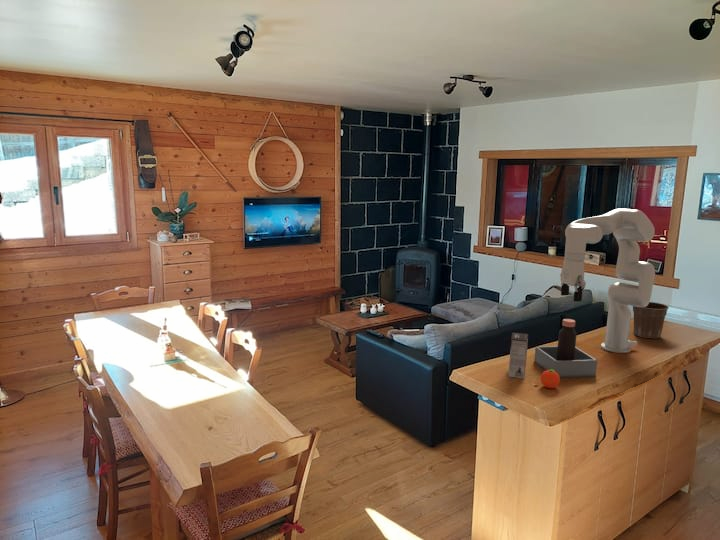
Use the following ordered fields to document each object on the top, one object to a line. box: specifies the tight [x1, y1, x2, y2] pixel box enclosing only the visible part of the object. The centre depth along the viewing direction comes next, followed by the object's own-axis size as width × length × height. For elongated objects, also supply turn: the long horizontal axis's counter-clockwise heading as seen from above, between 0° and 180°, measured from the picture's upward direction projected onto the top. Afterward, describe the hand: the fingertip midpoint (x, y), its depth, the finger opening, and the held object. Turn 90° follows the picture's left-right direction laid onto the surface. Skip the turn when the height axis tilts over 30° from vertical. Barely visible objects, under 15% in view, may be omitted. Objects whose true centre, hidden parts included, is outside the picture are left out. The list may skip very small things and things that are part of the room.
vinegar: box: [556, 318, 578, 361], centre depth 212 cm, size 7×7×20 cm
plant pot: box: [632, 301, 670, 340], centre depth 260 cm, size 16×16×16 cm
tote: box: [533, 345, 598, 379], centre depth 214 cm, size 18×18×7 cm
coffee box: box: [508, 332, 529, 379], centre depth 207 cm, size 9×6×16 cm
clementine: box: [540, 369, 561, 389], centre depth 195 cm, size 8×7×7 cm
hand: (570, 298), depth 209 cm, fingers open, 9 cm apart
